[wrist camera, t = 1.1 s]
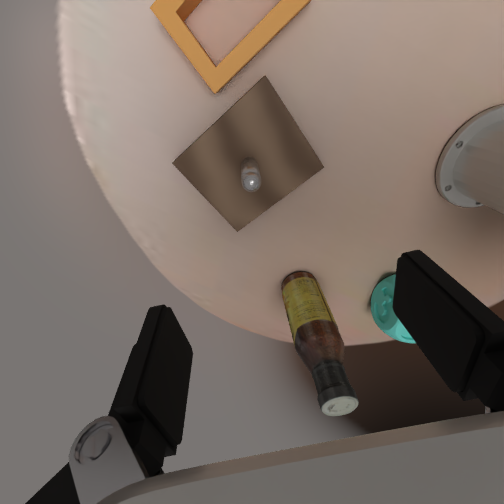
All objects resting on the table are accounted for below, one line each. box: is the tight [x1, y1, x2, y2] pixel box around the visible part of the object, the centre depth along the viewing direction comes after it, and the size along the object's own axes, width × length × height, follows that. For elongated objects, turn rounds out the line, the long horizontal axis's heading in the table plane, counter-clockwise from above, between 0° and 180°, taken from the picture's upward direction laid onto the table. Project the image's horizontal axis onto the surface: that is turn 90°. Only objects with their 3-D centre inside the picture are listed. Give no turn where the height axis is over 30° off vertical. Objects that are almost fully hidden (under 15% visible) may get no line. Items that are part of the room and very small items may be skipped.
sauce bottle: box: [282, 272, 359, 416], centre depth 36 cm, size 7×6×20 cm
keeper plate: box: [172, 76, 324, 232], centre depth 30 cm, size 14×12×9 cm
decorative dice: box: [371, 274, 416, 343], centre depth 43 cm, size 8×8×8 cm
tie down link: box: [150, 0, 311, 94], centre depth 24 cm, size 12×8×4 cm, turn 129°
